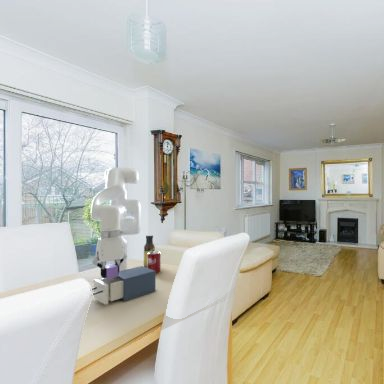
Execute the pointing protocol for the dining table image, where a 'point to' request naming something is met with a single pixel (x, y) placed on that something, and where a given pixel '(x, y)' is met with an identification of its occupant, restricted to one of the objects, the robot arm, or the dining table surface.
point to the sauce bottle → (148, 248)
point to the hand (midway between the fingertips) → (110, 275)
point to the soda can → (154, 261)
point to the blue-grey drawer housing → (137, 282)
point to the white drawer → (108, 289)
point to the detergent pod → (111, 271)
